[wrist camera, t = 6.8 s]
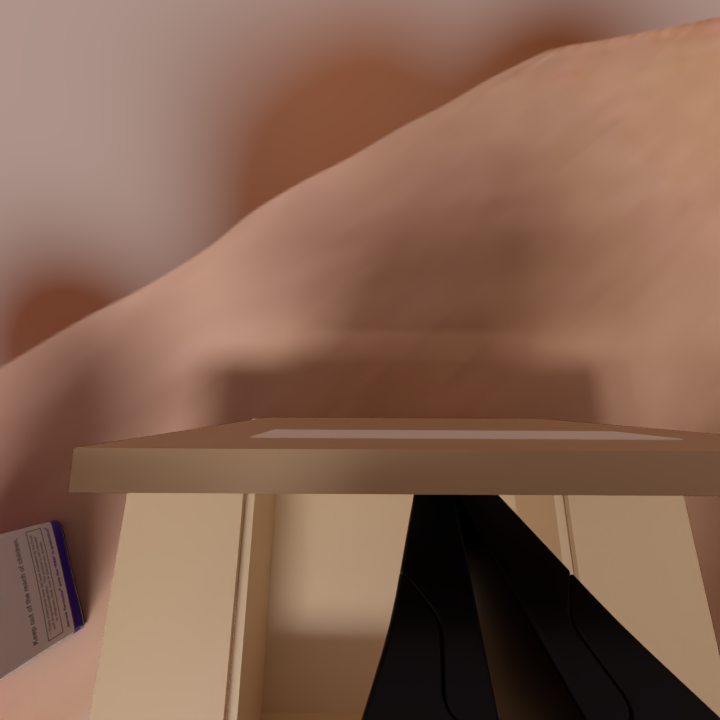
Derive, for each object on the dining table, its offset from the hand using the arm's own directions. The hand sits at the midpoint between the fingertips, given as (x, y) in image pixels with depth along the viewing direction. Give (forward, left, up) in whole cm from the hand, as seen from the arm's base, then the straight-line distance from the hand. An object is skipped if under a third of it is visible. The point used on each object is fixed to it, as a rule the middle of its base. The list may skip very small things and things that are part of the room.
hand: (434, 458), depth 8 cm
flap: (+1, -1, -6) cm, 6 cm away
